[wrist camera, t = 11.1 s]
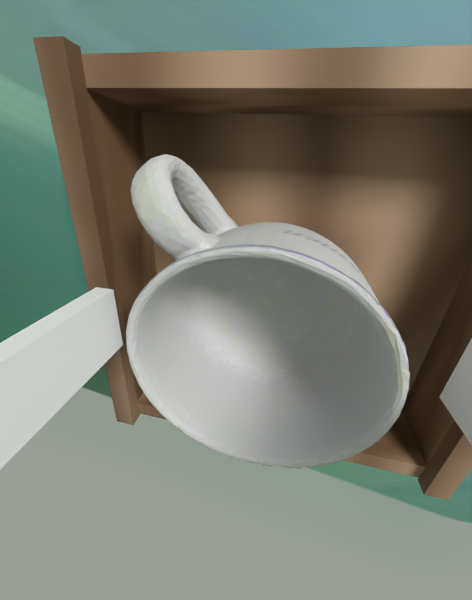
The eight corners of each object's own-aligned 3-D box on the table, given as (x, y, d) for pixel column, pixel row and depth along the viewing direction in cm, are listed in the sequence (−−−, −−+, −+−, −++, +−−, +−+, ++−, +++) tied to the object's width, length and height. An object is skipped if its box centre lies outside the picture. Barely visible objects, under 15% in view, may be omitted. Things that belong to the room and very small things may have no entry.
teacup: (367, 356, 17) (417, 483, 10) (217, 371, 20) (175, 474, 13) (338, 115, 12) (395, 29, 5) (146, 186, 15) (18, 194, 8)
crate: (157, 365, 23) (117, 421, 18) (128, 87, 14) (33, 37, 9) (408, 414, 19) (447, 500, 14) (568, 88, 11) (813, 8, 6)
